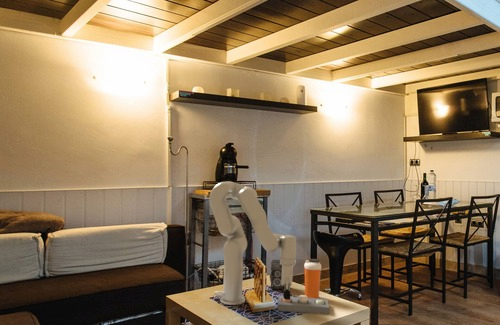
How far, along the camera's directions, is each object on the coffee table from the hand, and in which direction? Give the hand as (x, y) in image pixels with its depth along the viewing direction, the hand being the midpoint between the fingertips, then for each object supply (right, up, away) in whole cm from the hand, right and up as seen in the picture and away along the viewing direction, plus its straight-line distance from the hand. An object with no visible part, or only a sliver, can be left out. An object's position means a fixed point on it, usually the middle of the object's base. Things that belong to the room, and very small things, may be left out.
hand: (286, 298), depth 199 cm
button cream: (+8, -2, -1) cm, 8 cm away
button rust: (0, -3, 0) cm, 3 cm away
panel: (+8, -4, -1) cm, 9 cm away
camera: (-2, -4, +28) cm, 29 cm away
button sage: (+16, -4, -2) cm, 16 cm away
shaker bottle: (+14, -5, +15) cm, 21 cm away
